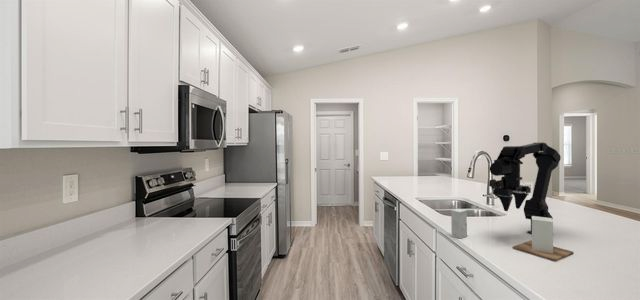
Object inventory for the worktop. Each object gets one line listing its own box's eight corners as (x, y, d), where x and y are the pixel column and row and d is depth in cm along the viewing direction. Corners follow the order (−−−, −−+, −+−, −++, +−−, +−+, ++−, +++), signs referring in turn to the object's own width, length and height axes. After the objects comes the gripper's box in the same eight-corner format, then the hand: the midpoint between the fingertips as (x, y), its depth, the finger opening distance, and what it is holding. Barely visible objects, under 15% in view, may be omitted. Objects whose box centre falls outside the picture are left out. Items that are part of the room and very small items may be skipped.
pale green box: (531, 244, 110) (531, 215, 109) (551, 248, 106) (551, 218, 105) (532, 249, 105) (532, 219, 104) (553, 253, 101) (553, 221, 101)
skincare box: (460, 238, 120) (460, 212, 120) (450, 236, 124) (450, 210, 124) (467, 236, 124) (467, 210, 123) (458, 233, 127) (457, 208, 127)
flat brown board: (531, 242, 115) (531, 229, 114) (573, 253, 102) (573, 240, 102) (512, 248, 108) (512, 235, 108) (555, 261, 96) (555, 247, 96)
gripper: (504, 171, 129) (504, 204, 130) (480, 174, 121) (480, 208, 121) (531, 174, 119) (531, 208, 120) (507, 176, 111) (507, 214, 111)
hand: (511, 209), depth 118 cm, fingers open, 9 cm apart
